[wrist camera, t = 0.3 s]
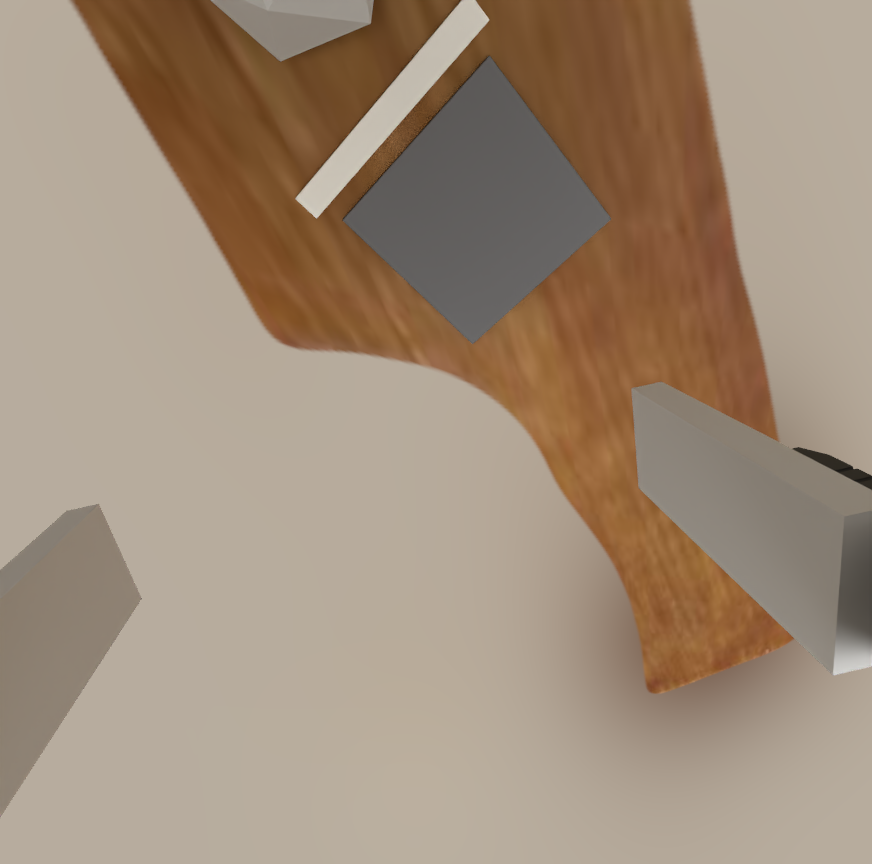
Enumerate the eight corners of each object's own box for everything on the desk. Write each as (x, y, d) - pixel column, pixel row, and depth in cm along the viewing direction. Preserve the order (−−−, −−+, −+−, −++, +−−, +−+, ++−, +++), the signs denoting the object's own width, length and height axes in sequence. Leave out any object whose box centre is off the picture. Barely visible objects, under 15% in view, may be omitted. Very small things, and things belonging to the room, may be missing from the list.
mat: (467, -8, 29) (469, -9, 28) (621, 205, 36) (624, 207, 35) (296, 197, 34) (295, 198, 33) (461, 350, 40) (462, 354, 40)
